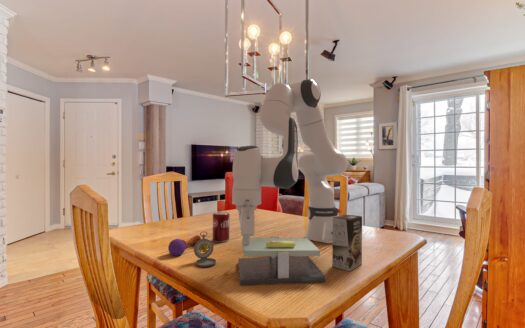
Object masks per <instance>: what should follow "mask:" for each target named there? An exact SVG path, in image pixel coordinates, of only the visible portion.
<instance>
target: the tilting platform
mask: <svg viewBox="0 0 525 328" xmlns="http://www.w3.org/2000/svg"><path fill="white" fill-rule="evenodd" d="M241 247H242V253H243V257H270V256H277V255H278V252H289V257H300V256H309V257H320V256H321V250H320V249H319V247H317V245H315V244H314V242H313V241H312V240H309V239H308V238H306V237H279V238H270V237H250V239H249V245H244V244H243V237H242V238H241Z"/></svg>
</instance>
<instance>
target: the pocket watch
mask: <svg viewBox="0 0 525 328" xmlns="http://www.w3.org/2000/svg"><path fill="white" fill-rule="evenodd" d="M202 233H203V231H201V232H200V233H199V236H200V237H202V238H201V240H199V241H198V242H197V243H196V244H194V246H193V253H194V255H195V256H196V257H197V258H198V259H196V261H195V265H196V266H198V267H202V268H203V267H206V268H207V267H211V266H214V265H216V263H217V259H216V258H212V257H210V256H212V254H213V252H214V243H213V242H212V240H210V239H208V238H206V237H207V235H208V232H207V231H205V234H206V235H205V234H202Z"/></svg>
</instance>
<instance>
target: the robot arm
mask: <svg viewBox="0 0 525 328" xmlns="http://www.w3.org/2000/svg"><path fill="white" fill-rule="evenodd" d="M321 92H322V91H321V88H320V86H319V83H317V81H315V80H314V79H312V78H311V79H309V78H308V79H303V80H302V81H301V80H300V81H297V82H292V83H290V84H286V83H283V82H277V83H275V84H272V86H271V87H270V88H269V89H268V91H267V93H266V95H265V98H264V100H263V103H262V106H261V110H260V115H259V119H260V122H261V125H262V126H263V128H265V129H266V130H267V131H269V132H270V133H271V134H275V135H277V136H281V137H283V145H282V146H283V147H282V149H283V151H282V155H280V156H278V157H265V156H264V157H263V156H262V155H261V149H260V147H259V146H257V145H243V146H238V147H237V148H235V150H234V153H233V161H232V178H233V183H232V184H233V185H232V188H231V189H232V191H231V195H232V197H231V198H232V199H231V200H232V201H231V204H232V205H234V206H235V210H237V211H238V220H239V227H240V234H241V236H242V238H243V244H244V245H249V239H250V238H251V236H252V237H253V236H255V233H256V231H255V230H256V229H255V227H256V226H255V225H256V224H255V223H256V222H255V219H256V218H255V211H257V209H258V206H259V205H261V204H262V187H263V188H264V187H268V188H279V189H285V190H289V189H291V188H292V187H293V186H294V185H295V184H296V183H297V182H298V180H299V171H300V172H301V173H302V174H303V176H304V178H305V181H306V183H307V187H308V206H307V207H308V209H307V218H308V223H307V230H306V234H305V238H308V239H309V240H310V241H312V242H313V241H314V242H318V243H319V242H321V243H324V244H333V217H337V216H339V214H342V212H343V210H342V208H338V207H335V190H334V188H333V186H332V185H330V183H329V182H328V180H327V177H337V176H341V175H343V174H344V173H346V171H347V169H348V166H349V165H348V164H349V162H348V159H347V157H346V155H345V154H344V153H343V152H341V151H340V150H338V148H336V146H335V145H334V144H333V142H332V141H331V139H330V137H329V135H328V131H327V128H326V124H325V121H324V117H323V114H322V111H321V108H320V105H319V102H320V100H321ZM292 113H295V115H296V120H297V123H296V120H295V119H294V118H293V117H292V115H291V114H292ZM297 124H298V125H297ZM298 128H299V132H300V136H301V140H302V142H303V144H304V145H305V146H307V147H308V148H309V149H310V150H311V151H312V152H311V151H310V152H308V153H304V154H303V155H301V156H300V158H299V159H298V148H299V147H298V142H299V141H298V137H299V136H298Z"/></svg>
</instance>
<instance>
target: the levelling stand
mask: <svg viewBox="0 0 525 328" xmlns="http://www.w3.org/2000/svg"><path fill="white" fill-rule="evenodd" d="M269 238H280V237H279V236H269ZM238 273H239V286H240V285H242V286H258V284H266V285H280V284H279V283H290V284H311V282H312V283H326V276H325V275H324V273H323V272H322V270H321V269H320V268H319V267H318V266H317V265H316V264H315V262H314V261H313V260H312V259H311V257H310V256H289V252H278V255H277V256H267V257H244V258H243V257H242V258H241V257H240V258H238ZM277 283H278V284H277Z"/></svg>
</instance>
